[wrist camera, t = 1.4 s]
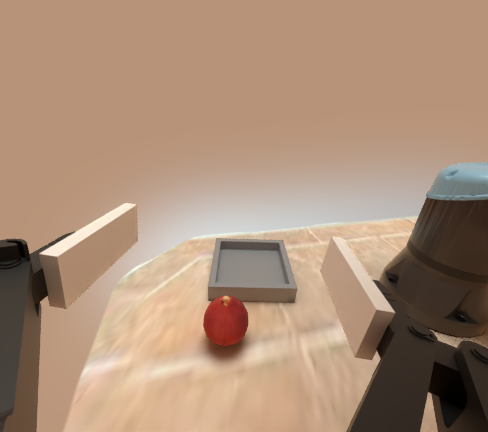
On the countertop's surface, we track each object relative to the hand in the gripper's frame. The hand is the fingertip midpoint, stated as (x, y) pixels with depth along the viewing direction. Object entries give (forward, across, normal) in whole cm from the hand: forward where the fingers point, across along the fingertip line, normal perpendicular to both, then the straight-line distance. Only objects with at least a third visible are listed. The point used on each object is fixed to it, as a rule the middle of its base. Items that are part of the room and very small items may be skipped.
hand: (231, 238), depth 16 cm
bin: (+24, +3, -19) cm, 30 cm away
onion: (+10, +1, -21) cm, 23 cm away
